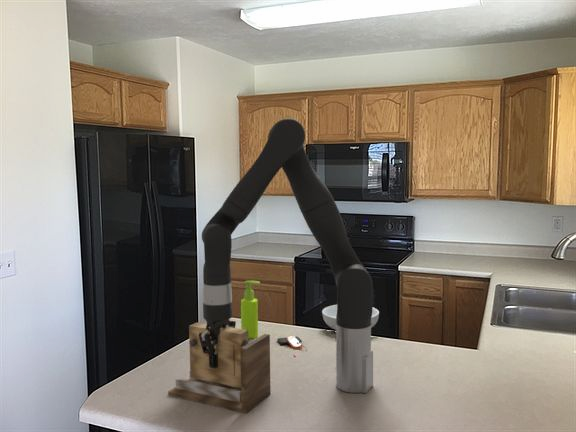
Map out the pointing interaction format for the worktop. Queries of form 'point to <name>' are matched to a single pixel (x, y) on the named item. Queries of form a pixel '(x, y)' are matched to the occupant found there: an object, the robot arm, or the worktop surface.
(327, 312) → the serving bowl
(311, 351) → the worktop surface
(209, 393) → the hinge base
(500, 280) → the worktop surface
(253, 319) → the soap dispenser
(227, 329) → the oak door
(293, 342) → the multimeter
